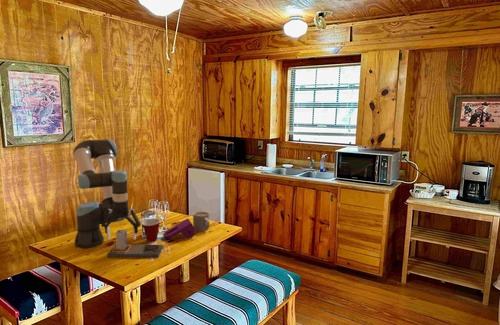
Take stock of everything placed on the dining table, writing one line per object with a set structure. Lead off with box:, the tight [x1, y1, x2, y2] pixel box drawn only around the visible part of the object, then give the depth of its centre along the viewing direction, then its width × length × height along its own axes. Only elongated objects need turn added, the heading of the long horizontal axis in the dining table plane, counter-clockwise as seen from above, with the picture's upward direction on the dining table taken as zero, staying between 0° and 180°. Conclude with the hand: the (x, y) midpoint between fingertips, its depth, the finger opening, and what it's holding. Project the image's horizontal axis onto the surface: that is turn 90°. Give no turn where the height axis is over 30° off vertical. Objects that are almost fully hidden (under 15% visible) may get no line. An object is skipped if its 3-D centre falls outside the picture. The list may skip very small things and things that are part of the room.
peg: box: [115, 229, 128, 251], centre depth 183 cm, size 4×4×12 cm
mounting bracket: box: [162, 218, 196, 240], centre depth 209 cm, size 10×8×18 cm
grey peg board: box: [107, 244, 164, 258], centre depth 185 cm, size 26×12×2 cm, turn 93°
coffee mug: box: [192, 211, 210, 232], centre depth 221 cm, size 13×10×10 cm
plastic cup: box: [140, 217, 161, 243], centre depth 201 cm, size 11×11×12 cm
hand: (121, 239), depth 183 cm, fingers open, 13 cm apart
